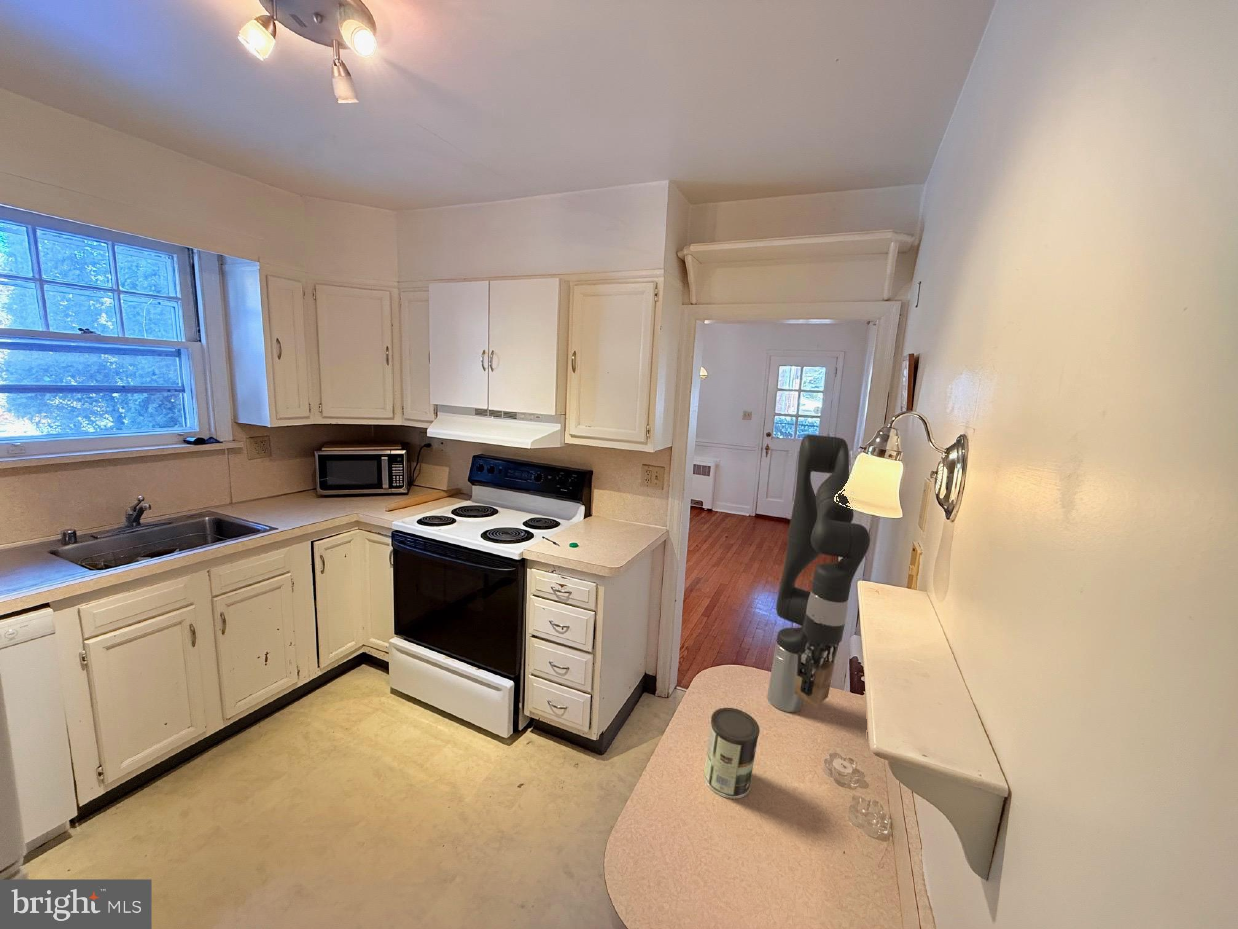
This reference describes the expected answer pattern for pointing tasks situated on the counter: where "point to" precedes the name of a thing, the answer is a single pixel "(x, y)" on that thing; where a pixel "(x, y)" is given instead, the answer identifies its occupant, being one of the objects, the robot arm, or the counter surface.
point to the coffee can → (731, 752)
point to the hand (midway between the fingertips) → (812, 688)
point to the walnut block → (817, 684)
